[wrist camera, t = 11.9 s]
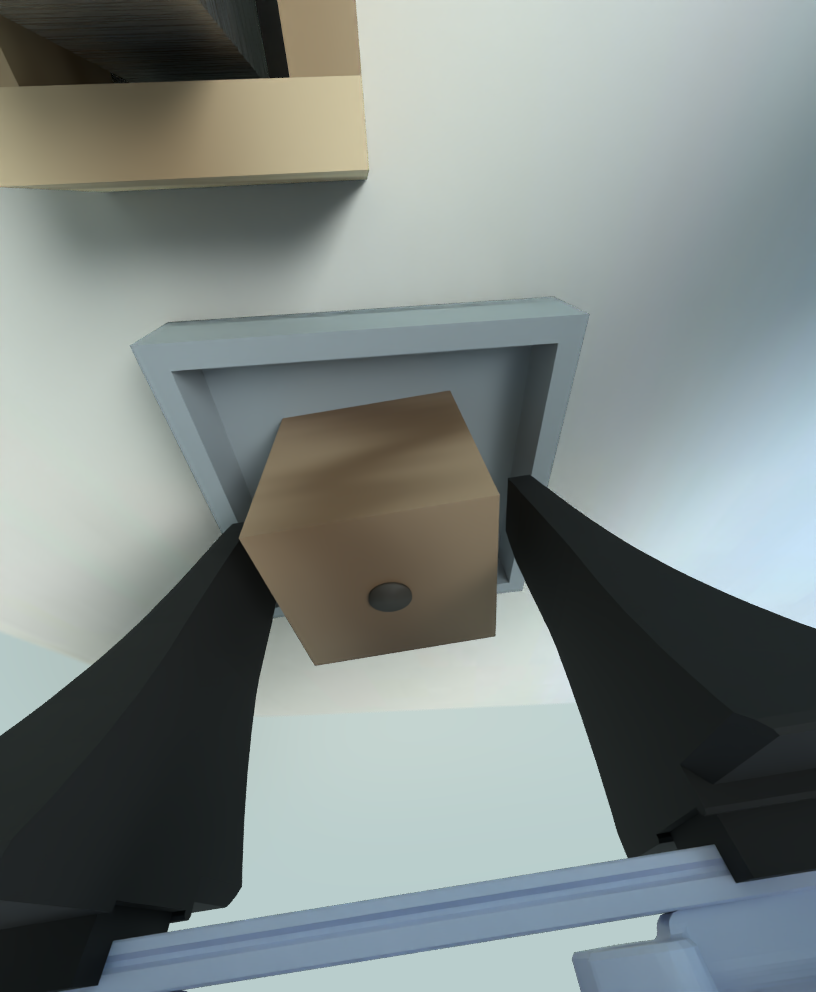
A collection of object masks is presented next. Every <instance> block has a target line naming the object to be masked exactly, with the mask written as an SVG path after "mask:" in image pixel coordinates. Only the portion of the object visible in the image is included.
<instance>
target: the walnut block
mask: <svg viewBox="0 0 816 992" xmlns="http://www.w3.org/2000/svg"><path fill="white" fill-rule="evenodd" d="M499 501H500V494H499V492H498V490H497V488H496V486H495V484H494V482H493V480H492V478H491V475H490V473H489V471H488V469H487V467H486V465H485V463H484V461H483V459H482V457H481V454H480V452H479V450H478V448H477V446H476V444H475V442H474V440H473V438H472V436H471V433H470V431H469V429H468V427H467V425H466V423H465V421H464V419H463V417H462V414H461V412H460V410H459V408H458V406H457V404H456V402H455V400H454V398H453V396H452V393H451V391H450V390H449V391H443V392H437V393H431V394H425V395H419V396H413V397H407V398H401V399H396V400H390V401H384V402H378V403H372V404H366V405H360V406H354V407H348V408H342V409H336V410H330V411H324V412H318V413H312V414H306V415H300V416H294V417H288V418H283V419H282V421H281V424H280V427H279V430H278V432H277V435H276V438H275V441H274V443H273V446H272V449H271V451H270V454H269V457H268V460H267V462H266V465H265V468H264V470H263V473H262V476H261V479H260V481H259V484H258V487H257V490H256V492H255V495H254V498H253V500H252V503H251V506H250V509H249V511H248V514H247V517H246V520H245V522H244V525H243V528H242V530H241V533H240V536H239V540H240V541H241V543H242V545H243V546H244V548H245V550H246V551H247V553H248V555H249V556H250V558H251V560H252V561H253V563H254V565H255V566H256V568H257V570H258V571H259V573H260V575H261V576H262V578H263V580H264V581H265V583H266V585H267V586H268V588H269V590H270V591H271V593H272V595H273V596H274V598H275V600H276V602H277V603H278V605H279V607H280V608H281V610H282V612H283V613H284V615H285V617H286V618H287V620H288V622H289V623H290V625H291V627H292V628H293V630H294V632H295V633H296V635H297V637H298V638H299V640H300V642H301V643H302V645H303V647H304V648H305V650H306V652H307V653H308V655H309V657H310V658H311V660H312V662H313V663H314V665H315V666H317V665H323V664H329V663H335V662H341V661H347V660H353V659H359V658H365V657H372V656H378V655H384V654H390V653H396V652H402V651H408V650H414V649H420V648H426V647H433V646H439V645H445V644H451V643H457V642H463V641H469V640H475V639H481V638H487V637H494V636H495V631H496V599H497V566H498V534H499Z"/></svg>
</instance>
